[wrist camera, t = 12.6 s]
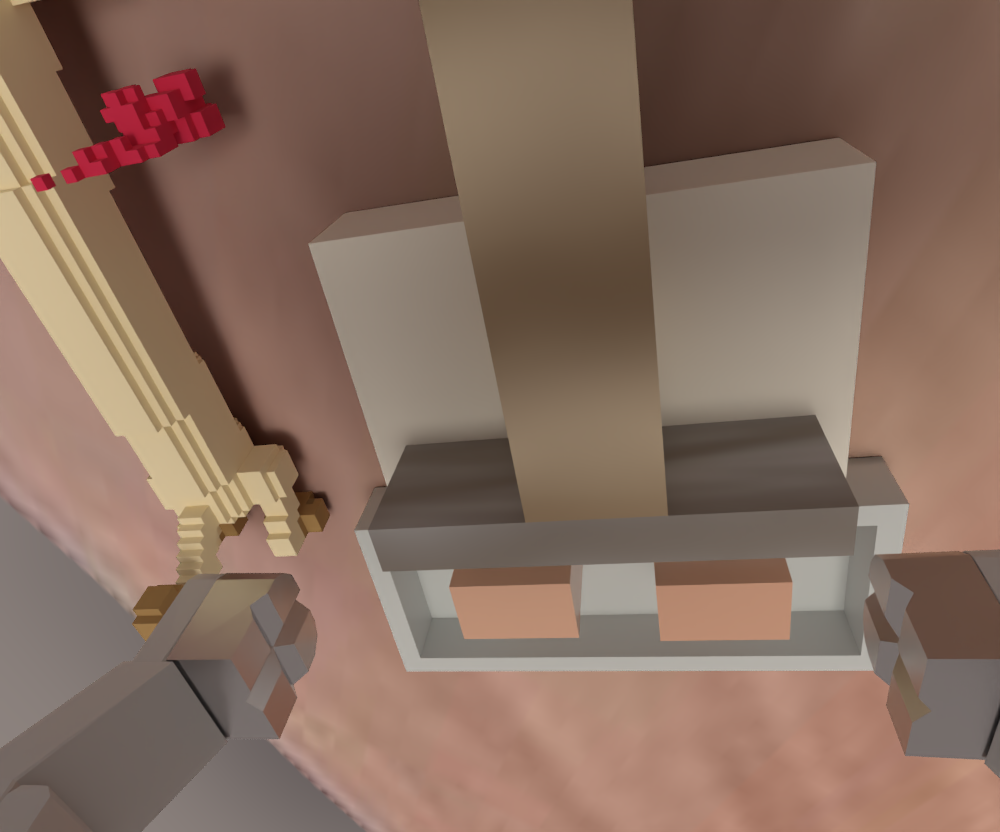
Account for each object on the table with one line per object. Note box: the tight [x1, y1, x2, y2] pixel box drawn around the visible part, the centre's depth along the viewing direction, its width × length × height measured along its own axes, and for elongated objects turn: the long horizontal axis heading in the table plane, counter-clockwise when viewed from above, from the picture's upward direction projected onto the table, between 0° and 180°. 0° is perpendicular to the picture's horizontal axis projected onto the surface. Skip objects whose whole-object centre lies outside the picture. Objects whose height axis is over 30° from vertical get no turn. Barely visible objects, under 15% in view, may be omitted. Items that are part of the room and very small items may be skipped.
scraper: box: [368, 0, 859, 572], centre depth 16 cm, size 14×12×4 cm
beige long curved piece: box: [0, 0, 330, 641], centre depth 19 cm, size 10×9×25 cm
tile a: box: [449, 565, 583, 639], centre depth 24 cm, size 4×4×2 cm
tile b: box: [654, 558, 793, 641], centre depth 23 cm, size 4×4×2 cm
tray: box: [354, 456, 909, 671], centre depth 26 cm, size 8×18×2 cm, turn 100°
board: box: [308, 138, 876, 486], centre depth 21 cm, size 10×14×3 cm
